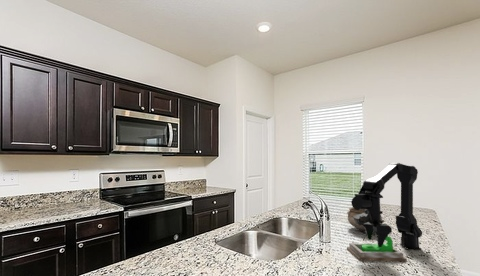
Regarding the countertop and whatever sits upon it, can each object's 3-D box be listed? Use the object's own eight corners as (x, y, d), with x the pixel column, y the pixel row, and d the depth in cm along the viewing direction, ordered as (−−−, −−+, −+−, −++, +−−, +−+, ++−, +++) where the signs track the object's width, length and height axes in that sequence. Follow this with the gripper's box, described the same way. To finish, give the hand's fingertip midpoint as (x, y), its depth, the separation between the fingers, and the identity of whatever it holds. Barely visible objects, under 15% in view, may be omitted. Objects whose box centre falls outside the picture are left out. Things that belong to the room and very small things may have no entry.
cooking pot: (395, 234, 142) (394, 212, 143) (372, 238, 134) (371, 215, 135) (358, 223, 165) (358, 204, 166) (337, 226, 157) (336, 207, 158)
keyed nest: (389, 249, 118) (389, 243, 119) (406, 261, 105) (406, 253, 106) (346, 249, 119) (346, 242, 119) (358, 260, 106) (358, 253, 106)
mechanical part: (385, 249, 116) (384, 231, 117) (393, 254, 110) (392, 235, 111) (359, 249, 116) (359, 231, 117) (365, 254, 111) (364, 235, 111)
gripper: (347, 204, 123) (348, 236, 122) (364, 212, 105) (366, 250, 104) (370, 204, 123) (371, 236, 122) (391, 212, 104) (393, 251, 103)
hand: (374, 243), depth 113 cm, fingers open, 9 cm apart
